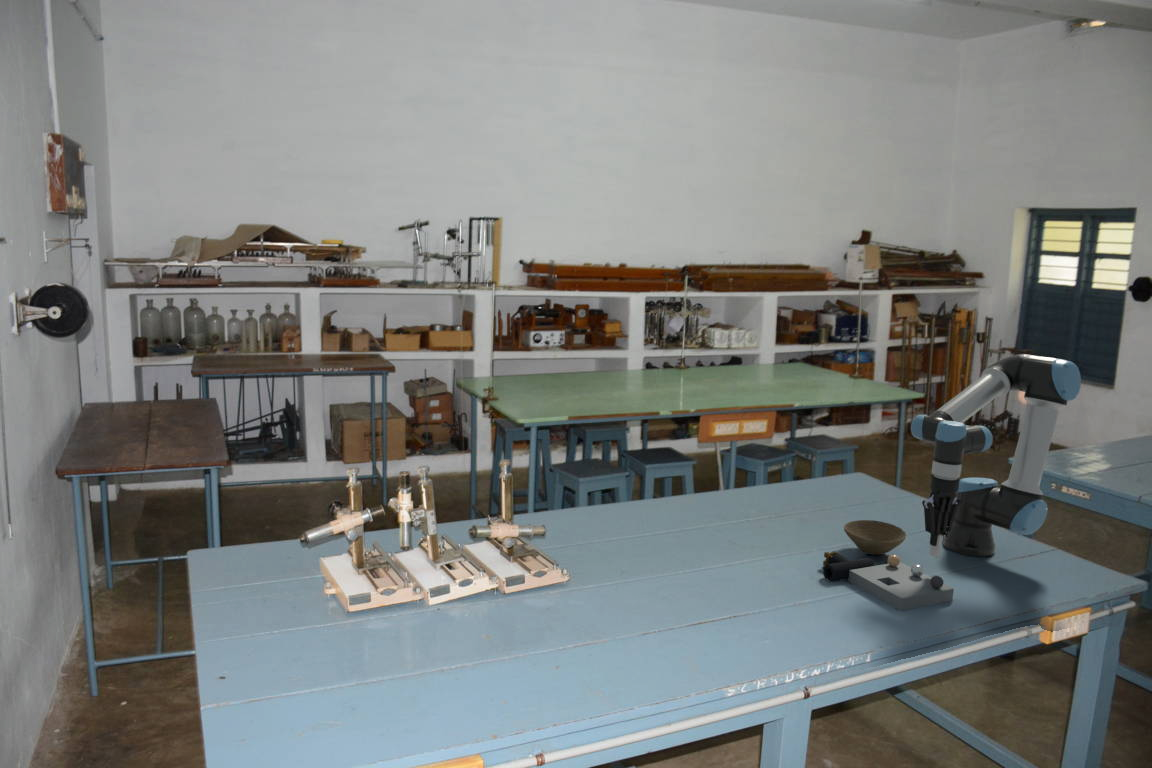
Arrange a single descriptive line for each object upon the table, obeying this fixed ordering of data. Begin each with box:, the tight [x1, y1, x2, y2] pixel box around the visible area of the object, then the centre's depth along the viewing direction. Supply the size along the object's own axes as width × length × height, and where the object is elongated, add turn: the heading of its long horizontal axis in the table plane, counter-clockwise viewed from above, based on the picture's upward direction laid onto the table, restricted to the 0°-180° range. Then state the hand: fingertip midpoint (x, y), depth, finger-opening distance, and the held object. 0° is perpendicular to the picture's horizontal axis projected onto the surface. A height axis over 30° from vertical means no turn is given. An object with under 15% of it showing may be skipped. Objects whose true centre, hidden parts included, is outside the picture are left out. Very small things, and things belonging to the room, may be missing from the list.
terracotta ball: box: [887, 554, 901, 567], centre depth 250 cm, size 3×3×3 cm
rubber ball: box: [930, 575, 945, 589], centre depth 236 cm, size 3×3×3 cm
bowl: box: [843, 519, 907, 556], centre depth 269 cm, size 18×18×8 cm
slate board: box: [847, 561, 955, 612], centre depth 241 cm, size 19×20×4 cm
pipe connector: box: [822, 550, 876, 583], centre depth 253 cm, size 12×5×15 cm
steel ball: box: [911, 564, 925, 577], centre depth 243 cm, size 3×3×3 cm
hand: (934, 555), depth 245 cm, fingers closed
